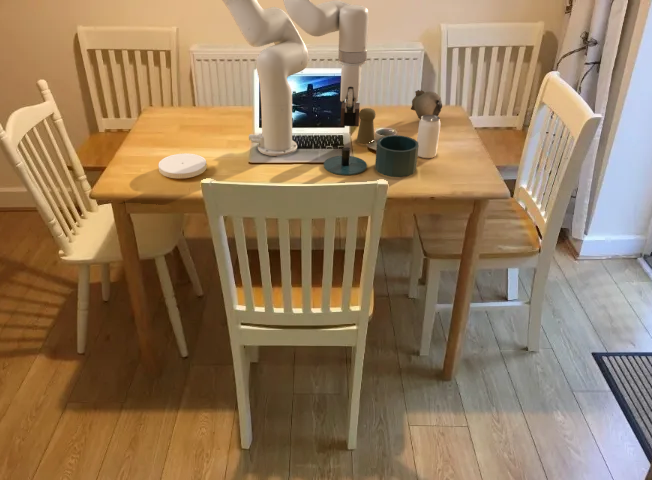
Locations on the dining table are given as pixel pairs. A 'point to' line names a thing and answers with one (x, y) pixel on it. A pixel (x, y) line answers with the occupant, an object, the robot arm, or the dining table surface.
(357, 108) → the block
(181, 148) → the dining table surface
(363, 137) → the cork
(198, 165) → the plastic lid
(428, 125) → the can
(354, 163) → the lid
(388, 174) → the pot
